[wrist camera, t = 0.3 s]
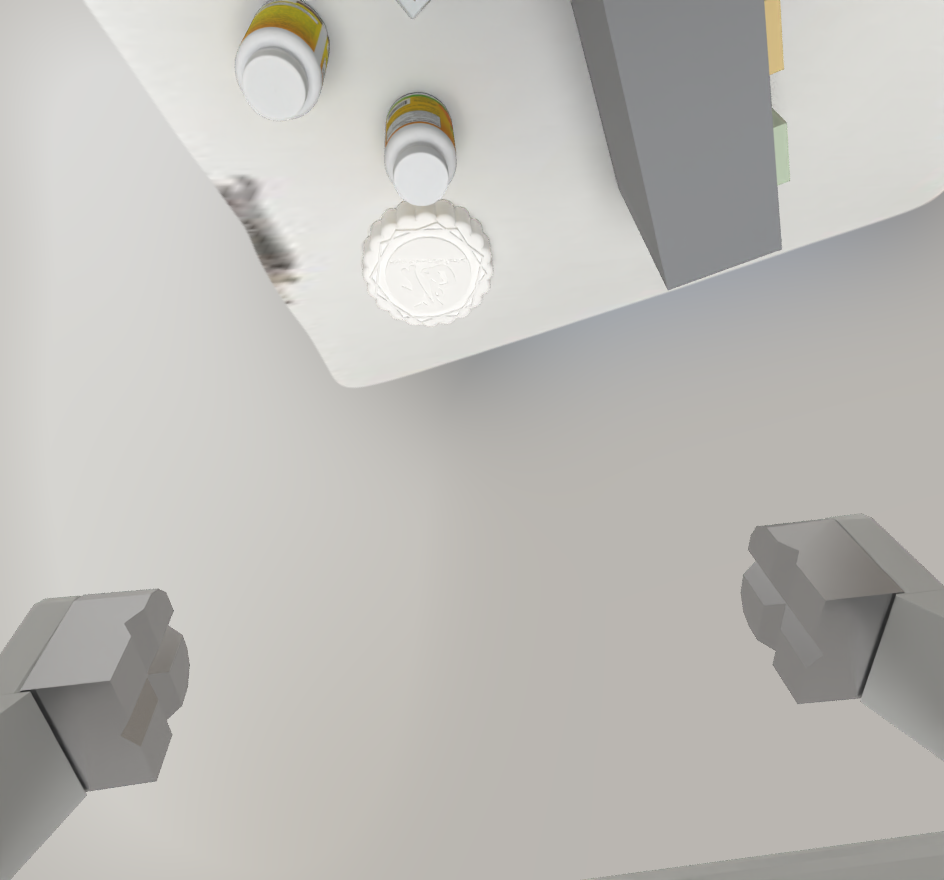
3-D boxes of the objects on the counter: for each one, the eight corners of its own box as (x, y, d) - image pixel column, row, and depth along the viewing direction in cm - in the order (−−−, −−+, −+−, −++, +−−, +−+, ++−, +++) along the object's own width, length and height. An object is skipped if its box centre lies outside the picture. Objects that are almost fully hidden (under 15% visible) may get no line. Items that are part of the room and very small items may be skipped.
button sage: (762, 98, 48) (786, 122, 45) (767, 154, 51) (790, 180, 48) (720, 116, 49) (741, 140, 46) (727, 170, 52) (747, 196, 49)
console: (657, -207, 41) (750, -187, 30) (709, 151, 58) (781, 249, 47) (534, -142, 43) (580, -101, 32) (618, 188, 60) (667, 290, 49)
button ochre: (752, -24, 43) (779, -6, 40) (758, 47, 46) (783, 69, 43) (705, -2, 44) (728, 17, 41) (714, 66, 47) (736, 89, 44)
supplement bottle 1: (239, 6, 48) (210, 52, 41) (313, -15, 47) (298, 29, 40) (272, 88, 52) (251, 143, 45) (341, 70, 51) (331, 123, 44)
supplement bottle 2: (446, 163, 57) (452, 220, 50) (382, 154, 56) (380, 210, 49) (457, 97, 53) (465, 148, 47) (388, 85, 52) (386, 136, 46)
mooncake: (369, 311, 68) (368, 333, 65) (356, 197, 59) (354, 217, 56) (489, 307, 68) (492, 329, 66) (492, 194, 60) (496, 214, 57)
